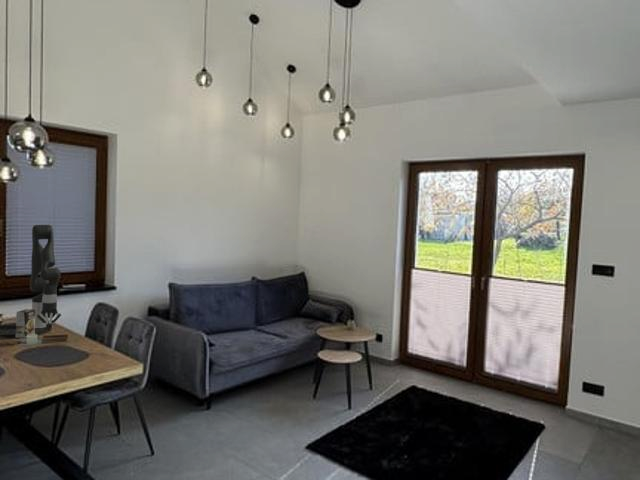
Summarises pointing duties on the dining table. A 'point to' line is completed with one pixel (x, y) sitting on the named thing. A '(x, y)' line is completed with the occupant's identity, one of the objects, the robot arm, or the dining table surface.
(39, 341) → the pad
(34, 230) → the robot arm
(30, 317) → the coffee box
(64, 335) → the chute
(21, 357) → the dining table surface
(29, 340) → the pale block
